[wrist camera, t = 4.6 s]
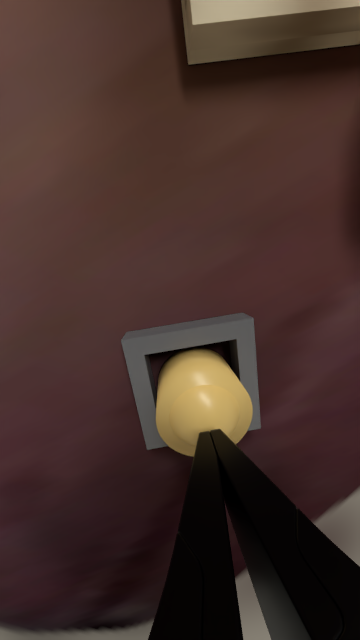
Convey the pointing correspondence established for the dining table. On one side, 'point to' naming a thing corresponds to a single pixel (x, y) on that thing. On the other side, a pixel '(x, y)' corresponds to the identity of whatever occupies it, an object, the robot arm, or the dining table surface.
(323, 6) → the tray
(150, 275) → the dining table surface
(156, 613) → the robot arm
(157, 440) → the grey square frame
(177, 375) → the yellow rounded piece
